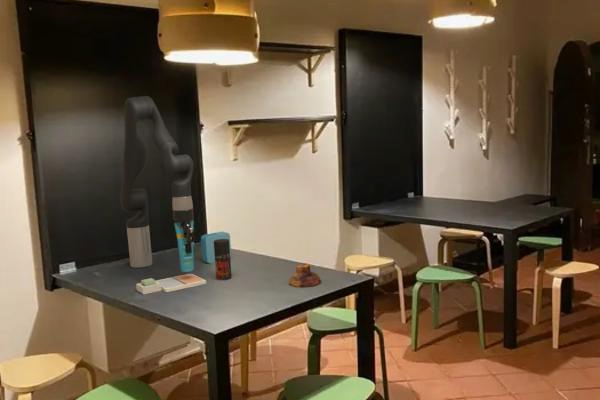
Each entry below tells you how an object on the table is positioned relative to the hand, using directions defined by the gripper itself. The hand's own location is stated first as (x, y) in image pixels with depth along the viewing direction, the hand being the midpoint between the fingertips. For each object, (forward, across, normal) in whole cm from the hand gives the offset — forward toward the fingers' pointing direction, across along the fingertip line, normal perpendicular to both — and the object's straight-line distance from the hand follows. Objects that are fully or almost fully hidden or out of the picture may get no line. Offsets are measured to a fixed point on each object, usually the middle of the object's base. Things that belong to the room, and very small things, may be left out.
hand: (186, 251), depth 242 cm
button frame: (+12, 0, -16) cm, 20 cm away
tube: (+7, 0, 0) cm, 7 cm away
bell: (+12, +33, +32) cm, 47 cm away
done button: (+10, 0, -16) cm, 19 cm away
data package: (+12, -23, +24) cm, 35 cm away
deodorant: (+12, +5, +13) cm, 18 cm away
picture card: (+12, 0, -4) cm, 12 cm away
